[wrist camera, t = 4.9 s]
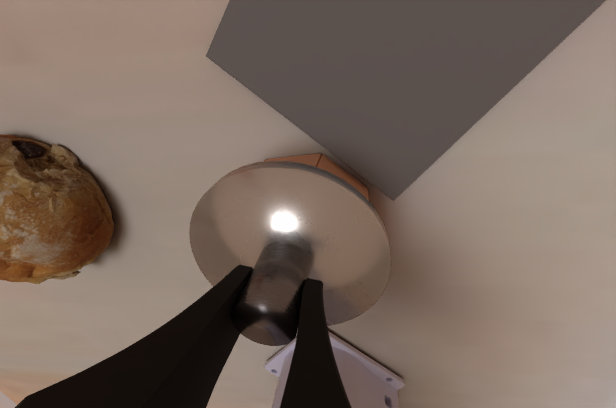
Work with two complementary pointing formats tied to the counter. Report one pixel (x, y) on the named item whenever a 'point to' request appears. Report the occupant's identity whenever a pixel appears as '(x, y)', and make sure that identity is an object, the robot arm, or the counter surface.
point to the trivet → (388, 69)
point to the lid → (290, 245)
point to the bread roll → (48, 212)
